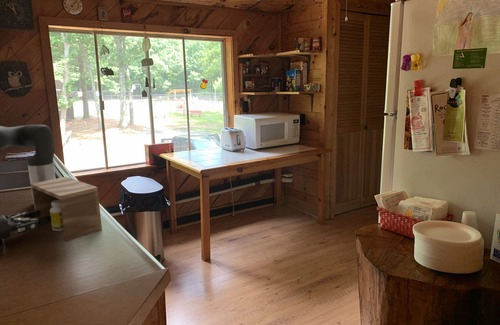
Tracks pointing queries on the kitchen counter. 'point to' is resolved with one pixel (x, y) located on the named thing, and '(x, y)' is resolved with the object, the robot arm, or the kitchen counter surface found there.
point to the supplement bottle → (56, 216)
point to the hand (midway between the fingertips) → (45, 215)
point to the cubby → (70, 205)
